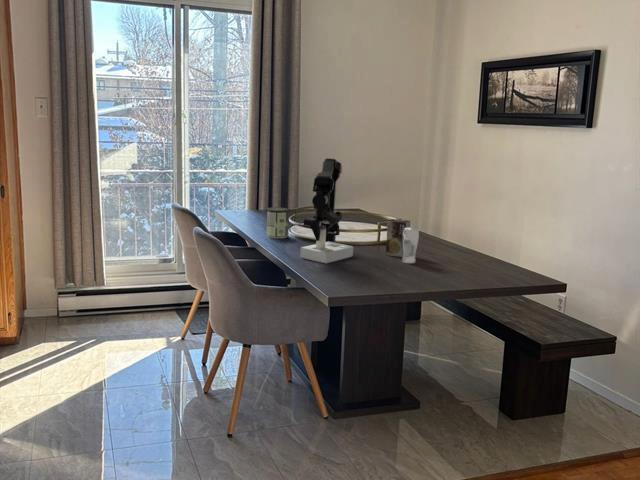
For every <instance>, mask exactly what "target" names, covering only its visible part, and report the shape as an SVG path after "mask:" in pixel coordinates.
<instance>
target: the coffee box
mask: <svg viewBox="0 0 640 480" xmlns="http://www.w3.org/2000/svg"><path fill="white" fill-rule="evenodd" d="M405 227H411V220H408V219H407V220H406V219H405V220H404V219H397V218H396V219H395V218H390V219H389V220H388V221H387V226H386V230H387V231H386V245H385V246H386V247H385V256H392V257H398V258H403V243H402V238H403V230H404V228H405Z"/></svg>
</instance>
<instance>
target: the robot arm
mask: <svg viewBox="0 0 640 480" xmlns="http://www.w3.org/2000/svg"><path fill="white" fill-rule="evenodd" d="M342 172H343V166H342V163H341V162H340V161H338V160H337V159H335V158H325V159H324V161H323V162H322V170H321V172H319V173H317V174H316V176H315V177H314V180H313V181H314V182H313V187H312V193H313V192H314V193H315V195H314V196H312V201H311V203H312V205H313V209H314V210H315V214H314V215H313V218H312V217H308V218H304V219H303V221H302V222H303V224H302V225H303V226H308V227H310V229H311V231H312V232H313V235H314V238H315V239H316V240H317V241H319V238H320V230H321V228H322V227H323V226H326V242H328V241H329V242H334V243H336V237H337V236H340V230H341V229H340V225H339V223H340V221H341V220H342V217H343V215H342V211H335V209H336V192H337V182H338V181H339V179H340V177H341V174H342ZM316 240H315V241H316Z"/></svg>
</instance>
